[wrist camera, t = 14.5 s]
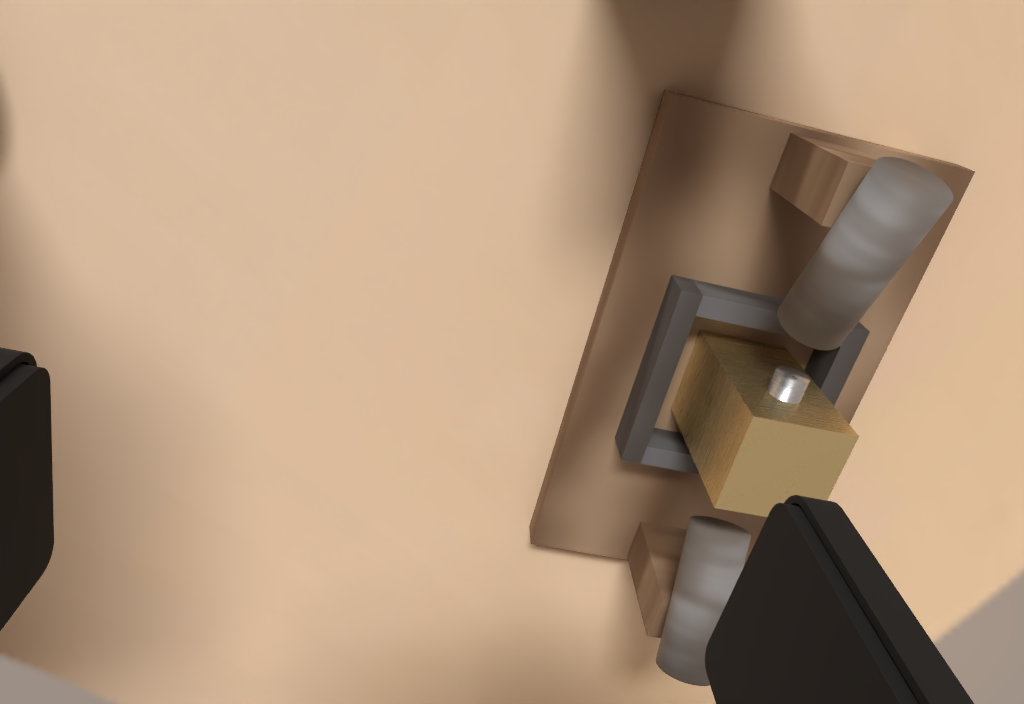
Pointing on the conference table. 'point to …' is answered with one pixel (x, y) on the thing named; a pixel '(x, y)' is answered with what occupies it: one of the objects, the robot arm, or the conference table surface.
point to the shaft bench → (728, 333)
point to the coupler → (758, 425)
